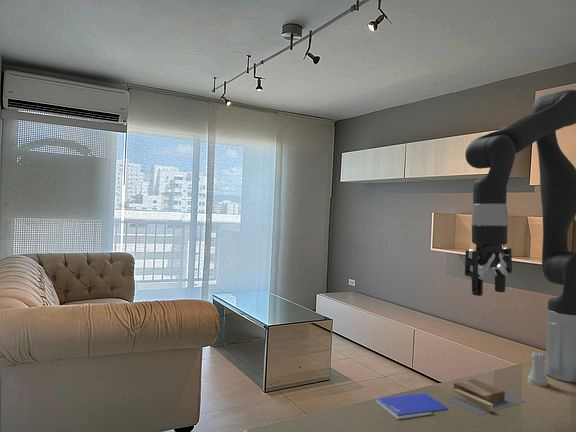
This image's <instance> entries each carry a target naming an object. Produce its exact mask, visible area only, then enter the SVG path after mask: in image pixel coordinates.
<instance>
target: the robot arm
mask: <svg viewBox="0 0 576 432" xmlns="http://www.w3.org/2000/svg"><path fill="white" fill-rule="evenodd" d="M531 110H532V112H531V113H530V114H527V115H525V116H522V117H520V118H517V119H516V120H514V121H512V122H510V123H508V124H506V125H505V126H503V127H502V128H500V129H497V130H496V131H493V132H489V133H487V134H485V135H481V136H479V137H477V138H475V139H474V140H472V141H471V142H470V143H469V144H468V145H467V147H466V149H465V153H464V154H465V160H466V162H467V164H468V165H469V166H470V167H472V168H474V169H489V170H488V173H487V175H486V176H484V177H481V178H479V179H477V180H475V181H474V182H473V188H472V190H473V191H472V192H473V193H472V210H471V243H472V244H474V245H475V249H466V250H465V262H464V263H465V264H464V265H465V266H464V276H466V277H469V278H470V279H471V293H472V296H477V297H481V296H483V293H484V291H483V290H484V287H483V286H484V280H483V277H484V275H485V273H486V272H489V269H492V270H493V272H494V290H495V292H496V293H505V292H506V279H507V276H508V274H511V273H513V262H512V261H513V259H512V258H513V257H512V254H513V253H512V248H511V247H503V245H507V244H508V219H509V218H508V207H507V191H508V190H507V188H508V187H507V186H508V183H509V178H510V176H511V172H512V168H513V165H514V163H515V159H516V154H517V153H520V152H521V151H523V150H525V149H526V148H528V147H529V146H531V145H533V144H534V143H536V147H537V154H538V155H537V156H538V166H539V168H538V169H539V182H540V183H539V186H540V187H539V189H540V200H541V210H542V211H541V213H542V247H541V248H542V251H541V252H542V253H541V269H542V273H543V275H544V277H545V279H546V280H547V281H548V282H549V283H552V284H555V285H561V286H563V288H562V289H563V290H562V293H561V294H560V295H559V296H557V297H552V298H549V299H548V300H547V301H548V303H547V317H546V318H547V324H546V325H547V326H546V350H545V351H546V353H545V357H546V359H545V370H544V373H545V375H548V377H550V378H553V379H556V380H558V381H559V380H560V381H563V382H568V383H576V251H571V250H570V251H569V247H568V237H569V236H568V235H569V234H568V233H569V229H570V227H571V224H572V223H573V221H574V219H575V218H576V167H575V165H573V163H572V162H571V161H570V159H569V158H568V157H567V156H566V154H565V153H564V152H563V151H562V149H561V147H560V146H559V145H560V144H559V143H558V137H557V134H556V131H558V130H560V129H563V128H566V127H571V126H573V125H576V89H566V90H561V91H558V92H554V93H549V94H545V95H542V96H539V97H537V98H536V99H535V100H534V101H533V105H532V109H531ZM471 268H472V269H471Z"/></svg>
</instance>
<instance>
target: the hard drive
mask: <svg viewBox="0 0 576 432" xmlns="http://www.w3.org/2000/svg"><path fill="white" fill-rule="evenodd" d="M375 402H376V404H377V405H378V406H380V407H381V408H383V409H384V410H385V411H386V412H388V413H389V414H390V415H391V416H393V417H394V418H395V419H397V420H401V419H409V418H414V417H415V418H417V417H423V416H429V415H435V412H439V411H446V410H447V411H448V410H449V408H448V407H447V406H446V405H445V404H443V403H441V402H440V401H438V400H437V399H435V398H433V397H432V396H430V395H429V394H427V393H425V392H420V393H414V394H404V395H396V396H385V397H379V399H378V398H377V397H376V399H375Z"/></svg>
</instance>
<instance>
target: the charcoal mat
mask: <svg viewBox="0 0 576 432" xmlns="http://www.w3.org/2000/svg"><path fill="white" fill-rule="evenodd" d="M444 400H446V401H449V402H450V403H452V404H455V405H457V406H458V407H462V408H463V409H465V410H468V411H469V412H472V413H474V414H476V415H479V416H482V415H486V414H488V413H490V412H486V411H484V410H482V409H480V408H478V407H475V406H473V405H471V404H469V403H467V402H464V401H462V400H460V399H458V398H455V397H453V395H452V396H448V397H444ZM525 402H526V400H524V399H522V398H519V397H518V396H517V397H516V396H514V395H511V394H509V393H506V392H505V399H504V400H502V401H499V402H495V403H492V404H493V411H492V412H495V411H500V410H502V409H506V408H509V407H511V406H514V405H518V404H522V403H525ZM492 412H491V413H492Z"/></svg>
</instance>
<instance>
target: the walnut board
mask: <svg viewBox="0 0 576 432" xmlns="http://www.w3.org/2000/svg"><path fill="white" fill-rule="evenodd" d="M453 389H459V390H462V391H464V392H466V393H469V394H471V395H473V396H476V397H478V398H480V399H483V400H485V401H487V402H490V403H495V402H499V401H502V400H504V399H505V393H506V392H505V391H506V390H503V389H500V388H498V387H495V386H493V385H491V384H487V383H486V382H483V381H481V380H479V379H475V378H471V379H466V380H462V381H458V382H454V383H453Z"/></svg>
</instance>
